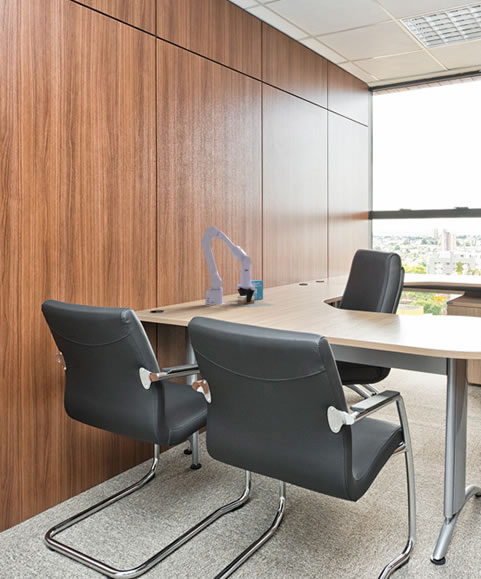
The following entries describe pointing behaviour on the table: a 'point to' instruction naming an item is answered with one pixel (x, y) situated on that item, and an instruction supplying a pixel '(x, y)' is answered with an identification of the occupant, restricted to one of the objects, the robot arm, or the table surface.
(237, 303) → the desk mat
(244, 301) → the metal box
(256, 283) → the data package
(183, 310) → the table surface
